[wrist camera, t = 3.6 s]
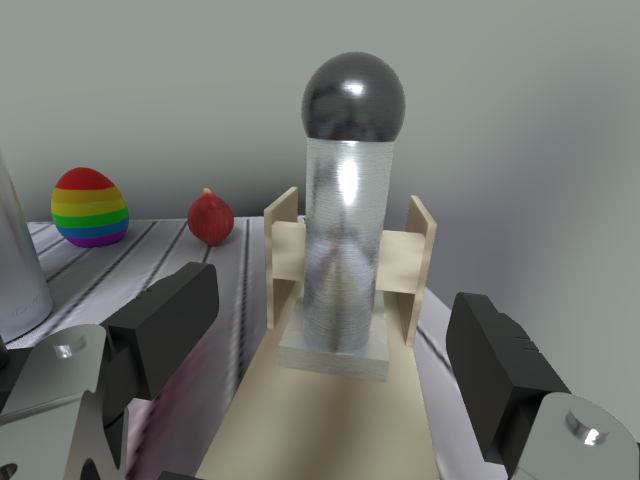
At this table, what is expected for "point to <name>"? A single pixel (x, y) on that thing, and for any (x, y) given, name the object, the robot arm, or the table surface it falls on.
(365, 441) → the frame
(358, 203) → the shaft
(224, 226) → the onion
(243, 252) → the table surface
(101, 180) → the decorative egg
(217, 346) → the table surface
